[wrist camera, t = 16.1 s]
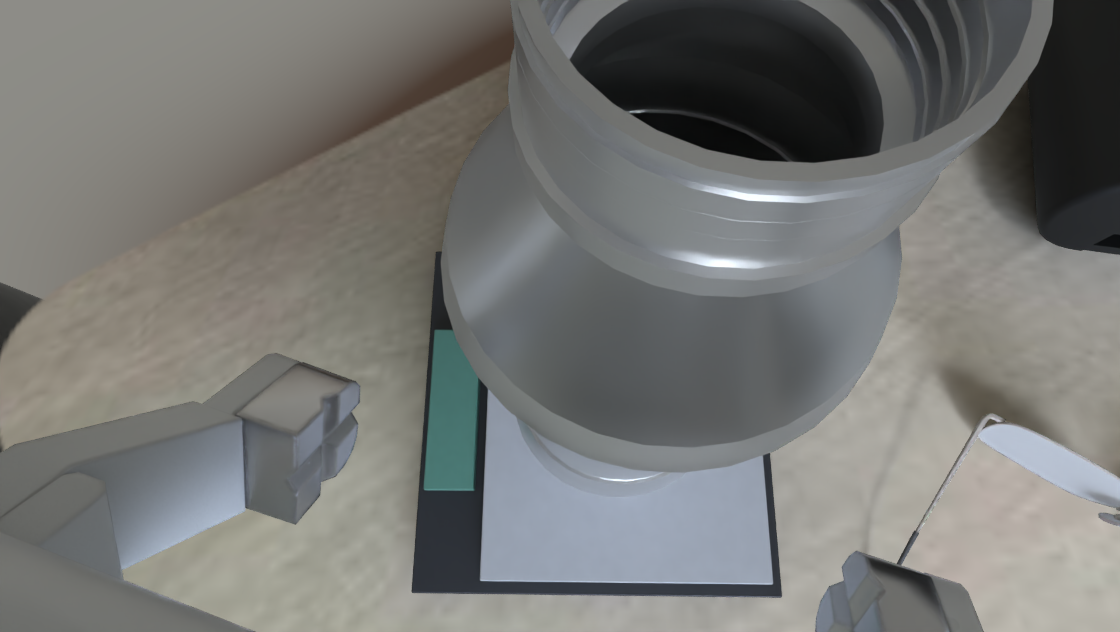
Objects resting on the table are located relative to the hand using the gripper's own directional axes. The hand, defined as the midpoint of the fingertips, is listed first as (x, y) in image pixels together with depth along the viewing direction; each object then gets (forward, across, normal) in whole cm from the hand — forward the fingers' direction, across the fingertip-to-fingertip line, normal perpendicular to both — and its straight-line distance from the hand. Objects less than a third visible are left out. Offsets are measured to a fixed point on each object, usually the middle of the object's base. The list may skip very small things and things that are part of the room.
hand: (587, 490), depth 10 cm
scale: (+14, 0, +9) cm, 16 cm away
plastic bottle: (+12, 0, +7) cm, 13 cm away
